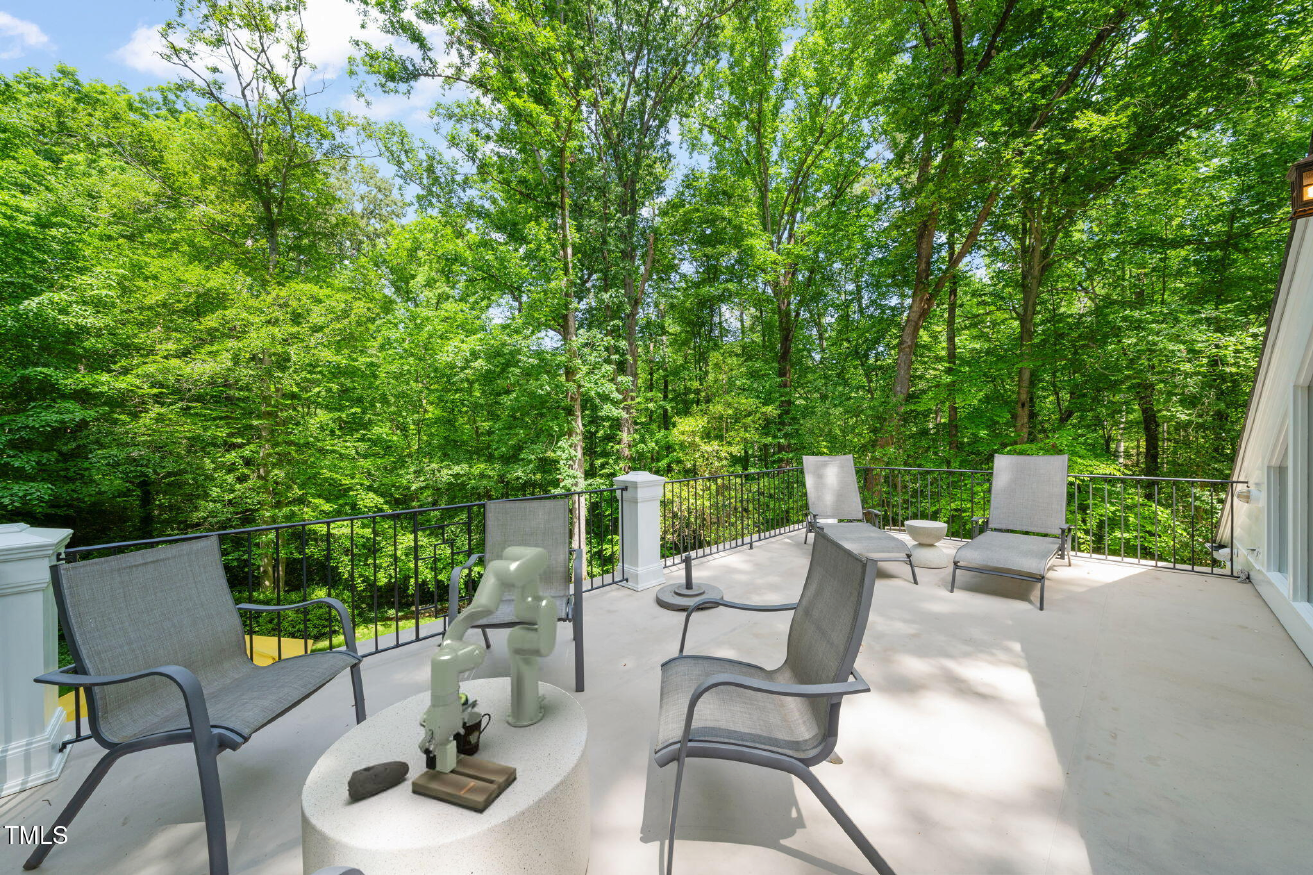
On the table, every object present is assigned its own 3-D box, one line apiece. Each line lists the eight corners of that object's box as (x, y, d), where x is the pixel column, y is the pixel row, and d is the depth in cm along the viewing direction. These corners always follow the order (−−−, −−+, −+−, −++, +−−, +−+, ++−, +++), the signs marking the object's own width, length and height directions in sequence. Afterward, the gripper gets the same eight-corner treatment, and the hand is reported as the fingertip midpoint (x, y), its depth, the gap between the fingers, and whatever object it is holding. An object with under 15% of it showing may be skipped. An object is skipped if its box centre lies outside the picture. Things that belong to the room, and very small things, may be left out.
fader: (444, 768, 136) (443, 737, 136) (456, 771, 134) (455, 740, 135) (435, 775, 133) (435, 744, 134) (447, 778, 131) (447, 747, 132)
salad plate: (468, 728, 160) (467, 715, 161) (412, 735, 157) (412, 721, 158) (479, 700, 179) (479, 688, 180) (429, 706, 176) (429, 694, 177)
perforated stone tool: (408, 774, 137) (408, 749, 137) (410, 783, 133) (410, 758, 133) (346, 796, 128) (346, 770, 129) (347, 807, 124) (347, 780, 125)
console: (451, 761, 142) (451, 750, 142) (516, 778, 133) (516, 767, 133) (412, 792, 129) (412, 780, 129) (481, 813, 120) (481, 800, 120)
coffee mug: (454, 763, 141) (454, 729, 142) (452, 748, 149) (451, 715, 149) (494, 751, 147) (494, 718, 147) (490, 737, 154) (490, 706, 155)
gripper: (457, 681, 144) (457, 739, 143) (409, 708, 128) (409, 774, 127) (477, 685, 142) (477, 744, 140) (430, 713, 125) (430, 780, 124)
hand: (444, 758), depth 134 cm, fingers open, 9 cm apart
